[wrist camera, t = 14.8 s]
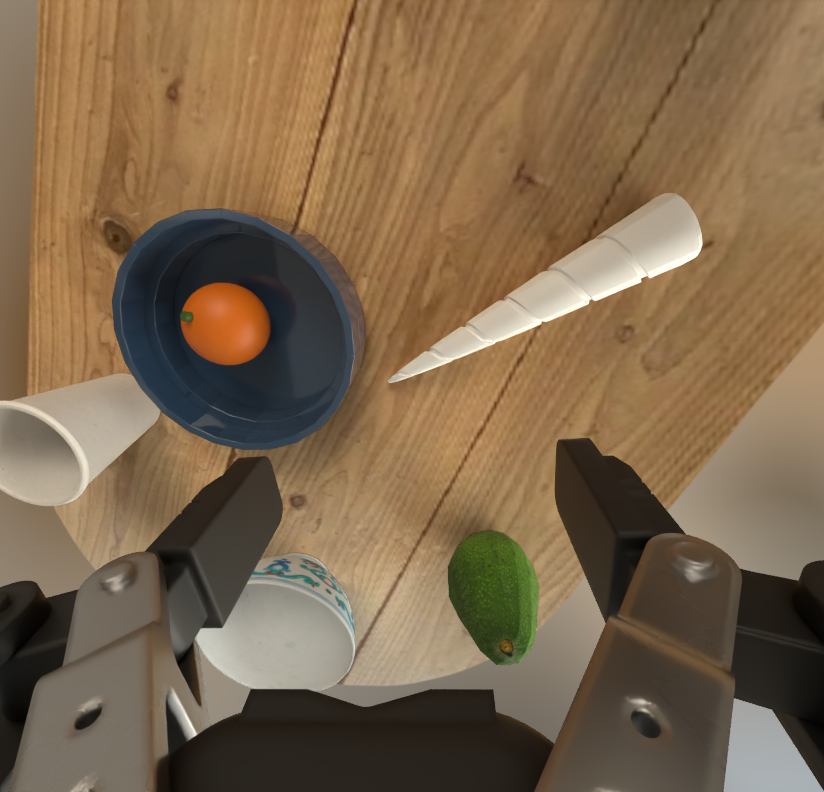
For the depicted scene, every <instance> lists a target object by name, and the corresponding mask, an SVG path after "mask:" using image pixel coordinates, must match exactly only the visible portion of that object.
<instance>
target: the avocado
mask: <svg viewBox="0 0 824 792" xmlns="http://www.w3.org/2000/svg"><path fill="white" fill-rule="evenodd" d="M448 584H449V597H450V600H451V602H452V604H453V606H454V608H455V610H456V612H457V615H458V617H459V618H460V620H461V621H462V623H463V624H464V626H465V627H466V629H467V630H468V632H469V634H470V635H471V637H472V638H473V640H474V641H475V643H476V645H477V646H478V648H479V649H480V651H481V652H482V653H484V654H485V655H486V656H487V657H488V658H489V659H490V660H492V661H493V662H494V663H495V664H496V665H511V664H515V663H518V662H519V661H520V660H522V659H523V658H524V657H525V656H526V655H527V654H528V652H529V651H530V649H531V648H532V646H533V645H534V641H535V634H536V627H537V611H538V601H539V584H538V581H537V577H536V574H535V570H534V567H533V565H532V563H531V562H530V560H529V559H528V557H527V556H526V554H525V552H524V551H523V550H522V548H521V547H520V546H519V544H518V543H516V542H515V541H514V540H512V539H511V538H509V537H508V536H507V535H505V534H504V533H500V532H496V531H490V530H488V531H483V532H479V533H475V534H472V535H470V536H469V537H467V538H466V539H465V540H464V541H462V542H461V543H460V544H459V545H458V546H457V548H456V550H455V552H454V554H453V557H452V559H451V561H450V563H449V566H448Z"/></svg>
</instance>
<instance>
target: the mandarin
mask: <svg viewBox="0 0 824 792" xmlns="http://www.w3.org/2000/svg"><path fill="white" fill-rule="evenodd" d="M180 318H181V328H182V332H183V335H184V337H185V339H186V341H187V343H188V344H189V345H190V347H191V348H192V349H193V350H194V351H195V352H196V353H197V354H198V355H200V356H201V357H203V358H204V359H206V360H208V361H210V362H214V363H217V364H221V365H237V364H242V363H245V362H248V361H250V360H252V359H253V358H255V357H256V356H257V355H258V354H260V353H261V352H262V350H263V349H264V348H265V346H266V344H267V343H268V340H269V337H270V333H271V321H270V317H269V314H268V311H267V309H266V307H265V305H264V304H263V302H262V301H261V300H260V299H259V298H258V297H257V296H256V295H255V294H254V293H252V292H251V291H249V290H248V289H246V288H244V287H242V286H239V285H236V284H232V283H213V284H209V285H206V286H204V287H201V288H200V289H198V290H197V291H195V292H194V293H193V294H192V295H191V296H190V297H189V298H188V300H187V301H186V303H185V305H184V307H183V310H182V312H181V315H180Z"/></svg>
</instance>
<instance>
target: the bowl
mask: <svg viewBox="0 0 824 792" xmlns="http://www.w3.org/2000/svg"><path fill="white" fill-rule="evenodd" d="M213 283H232V284H236V285H239V286H242V287H244V288H246V289H248V290H249V291H251V292H252V293H254V294H255V295H256V296H257V297H258V298H259V299H260V300H261V301H262V302H263V304H264V305H265V307H266V309H267V311H268V314H269V317H270V321H271V333H270V337H269V340H268V343H267V344H266V346H265V348H264V349H263V350H262V352H261V353H260V354H258V355H257V356H256V357H255V358H253V359H252V360H250V361H248V362H245V363H242V364H237V365H221V364H217V363H214V362H210V361H208V360H206V359H204V358H203V357H201V356H200V355H198V354H197V353H196V352H195V351H194V350H193V349H192V348H191V347H190V345H189V344H188V343H187V341H186V339H185V337H184V335H183V332H182V328H181V318H180V315H181V312H182V310H183V307H184V305H185V303H186V301H187V300H188V298H189V297H190V296H191V295H192V294H193V293H194V292H195V291H197V290H198V289H200V288H201V287H204V286H206V285H209V284H213ZM112 307H113V320H114V331H115V334H116V337H117V340H118V343H119V346H120V349H121V352H122V355H123V358H124V361H125V363H126V365H127V367H128V368H129V370H130V372H131V373H132V375H133V377H134V378H135V380H136V382H137V383H138V385H139V387H140V388H141V389H142V391H143V392H144V393H145V394H146V395H147V396H148V397H149V398H150V399H151V401H152V402H153V403H154V404H155V405H156V406H157V407H158V408H159V409H160V410H161V411H162V412H163V413H164V414H165V415H167V416H168V417H169V418H171V419H172V420H173V421H175V422H176V423H178V424H179V425H180V426H182V427H183V428H184V429H186V430H188V431H189V432H191V433H193V434H195V435H198V436H200V437H202V438H204V439H206V440H209V441H211V442H213V443H215V444H220V445H224V446H229V447H233V448H238V449H243V450H268V449H274V448H278V447H282V446H285V445H289V444H293V443H296V442H299V441H300V440H302V439H304V438H305V437H307V436H309V435H310V434H312V433H314V432H316V431H317V430H319V429H320V428H321V427H322V426H323V425H324V424H325V423H326V422H327V421H328V420H329V419H330V417H331V416H332V415H333V414H334V413H335V412H336V411H337V410H338V408H339V407H340V405H341V403H342V401H343V400H344V398H345V396H346V395H347V393H348V391H349V390H350V388H351V386H352V384H353V382H354V380H355V378H356V376H357V374H358V372H359V370H360V368H361V365H362V360H363V354H364V348H365V343H366V334H365V323H364V313H363V309H362V306H361V303H360V301H359V298H358V295H357V292H356V289H355V287H354V284H353V282H352V281H351V279H350V278H349V276H348V275H347V273H346V272H345V270H344V269H343V267H342V266H341V264H340V263H339V261H338V260H337V258H336V257H335V256H334V255H333V254H332V253H331V252H330V251H329V250H328V249H327V248H325V247H324V246H323V245H322V244H321V243H320V242H319V241H318V240H317V239H316V238H315V237H314V236H312V235H311V234H309V233H307V232H305V231H303V230H302V229H300V228H298V227H296V226H294V225H292V224H290V223H289V222H287V221H285V220H282V219H278V218H274V217H269V216H265V215H261V214H257V213H251V212H244V211H237V210H230V209H222V208H218V209H201V210H188V211H184V212H181V213H179V214H176V215H174V216H171V217H169V218H166V219H164V220H161V221H159V222H157V223H156V224H154V225H153V226H152V227H151V228H150V229H149V230H148V231H146V232H145V233H144V234H143V235H142V236H141V237H139V238H138V239H137V240H136V241H135V242H134V243H133V244H132V246H131V248H130V250H129V252H128V253H127V255H126V257H125V259H124V260H123V262H122V264H121V266H120V267H119V270H118V273H117V278H116V283H115V288H114V293H113V297H112Z"/></svg>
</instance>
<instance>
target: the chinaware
mask: <svg viewBox="0 0 824 792" xmlns="http://www.w3.org/2000/svg"><path fill="white" fill-rule="evenodd" d="M195 639H196V642H197V644H198V646H199V648H200V650H201V651H202V653H203V654H204V656H205V657H206V658H207V660H208V661H209V662H210V663H211V664H212V665H213V666H214V667H215V668H216V669H218V670H219V671H220V672H221V673H223V674H224V675H226V676H227V677H229V678H230V679H232V680H234V681H236V682H238V683H240V684H242V685H244V686H246V687H249V688H252V689H309V690H312V691H315V692H318V691H322V690H324V689H327V688H329V687H331V686H332V685H334V684H336V683H337V682H338V681H340V680H341V679H342V678H343V677H344V676H345V675H346V674H347V672H348V671H349V669H350V667H351V665H352V663H353V659H354V654H355V627H354V620H353V615H352V610H351V607H350V604H349V601H348V598H347V596H346V594H345V592H344V590H343V589H342V587H341V585H340V584H339V583H338V581H337V580H336V579H335V578H334V577H333V576H332V575H331V574H330V573H329V571H328V569H327V568H326V567H325V565H324V564H323V563H321V562H320V561H319V560H317V559H316V558H314V557H312V556H309V555H306V554H301V553H291V554H286V555H283V556H273V557H268V558H264V559H260V560H259V562H258V564H257V566H256V568H255V570H254V571H253V573H252V575H251V577H250V579H249V581H248V582H247V584H246V586H245V588H244V590H243V592H242V593H241V595H240V597H239V599H238V601H237V603H236V604H235V606H234V608H233V610H232V612H231V614H230V615H229V617H228V619H227V621H226V623H225V625H224V626H223V628H201V629H200V631H199V632H198V634H197V636H196V637H195Z"/></svg>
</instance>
